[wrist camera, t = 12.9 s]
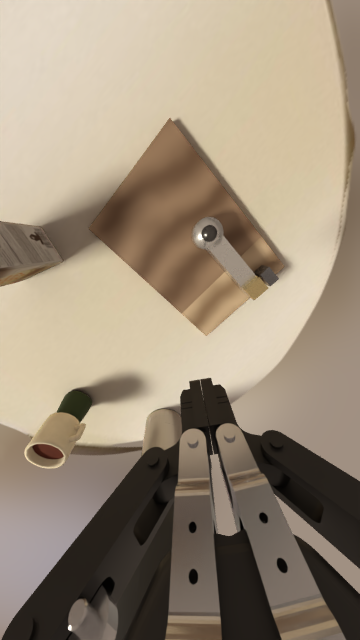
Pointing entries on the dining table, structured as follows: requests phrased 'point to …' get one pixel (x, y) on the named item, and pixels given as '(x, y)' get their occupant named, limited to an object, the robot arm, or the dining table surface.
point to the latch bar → (226, 256)
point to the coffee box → (24, 252)
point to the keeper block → (266, 275)
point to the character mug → (59, 432)
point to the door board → (180, 230)
